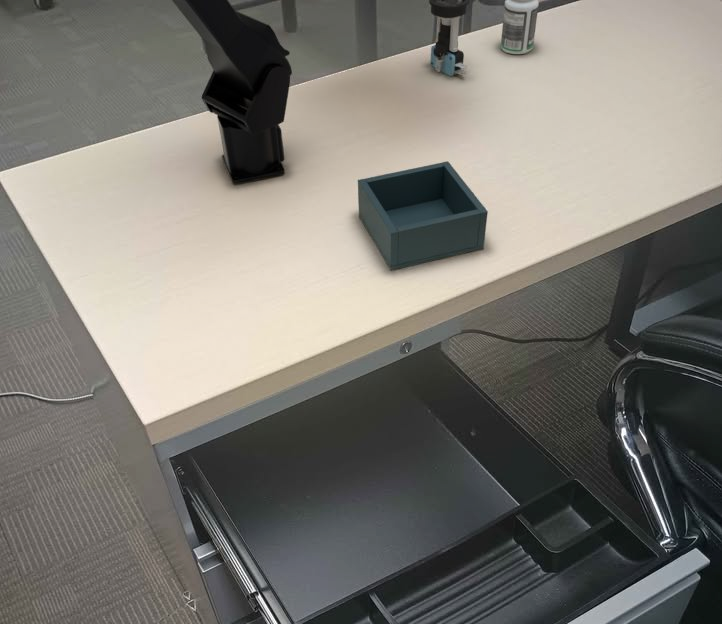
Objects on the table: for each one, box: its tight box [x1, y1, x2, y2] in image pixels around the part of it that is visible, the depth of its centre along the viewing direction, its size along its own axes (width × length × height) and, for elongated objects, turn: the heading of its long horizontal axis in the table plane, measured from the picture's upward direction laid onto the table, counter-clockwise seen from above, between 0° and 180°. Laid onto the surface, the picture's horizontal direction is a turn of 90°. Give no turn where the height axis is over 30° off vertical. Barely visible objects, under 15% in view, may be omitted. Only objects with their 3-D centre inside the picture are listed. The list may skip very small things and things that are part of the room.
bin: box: [357, 160, 489, 271], centre depth 82 cm, size 11×11×4 cm
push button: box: [428, 0, 470, 77], centre depth 104 cm, size 7×5×10 cm
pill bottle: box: [500, 0, 540, 55], centre depth 109 cm, size 5×5×8 cm
